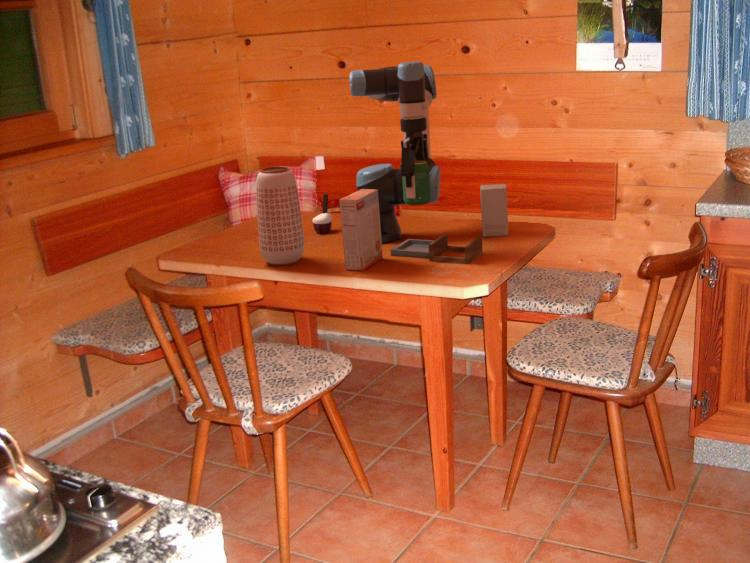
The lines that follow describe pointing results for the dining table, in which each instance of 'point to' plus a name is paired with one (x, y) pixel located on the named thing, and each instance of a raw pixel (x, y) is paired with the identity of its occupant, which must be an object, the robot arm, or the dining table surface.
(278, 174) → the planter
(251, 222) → the dining table surface
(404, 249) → the tray
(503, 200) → the skincare box
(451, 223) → the dining table surface
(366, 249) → the cracker box
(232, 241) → the dining table surface
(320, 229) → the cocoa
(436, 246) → the caddy
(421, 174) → the beverage can
